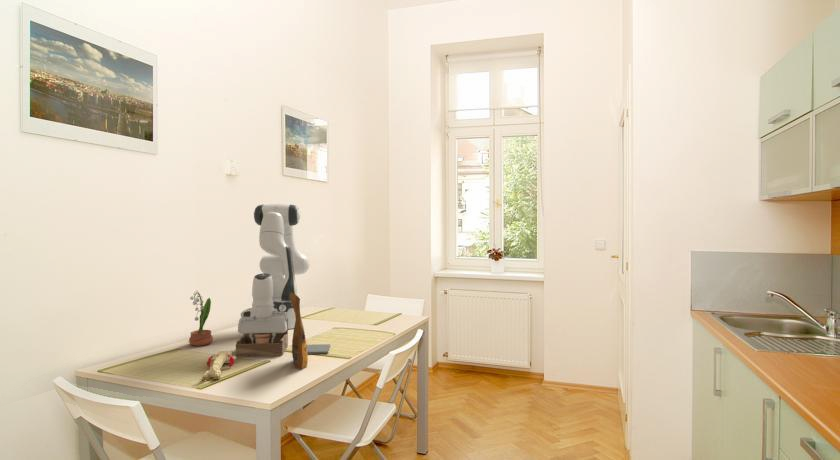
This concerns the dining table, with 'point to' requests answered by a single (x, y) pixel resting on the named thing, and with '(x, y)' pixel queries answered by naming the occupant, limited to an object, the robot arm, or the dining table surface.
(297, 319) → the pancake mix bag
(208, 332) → the potted flower
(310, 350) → the rubber mat
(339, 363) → the dining table surface
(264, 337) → the terracotta pot
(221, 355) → the cream toy figurine
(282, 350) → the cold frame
